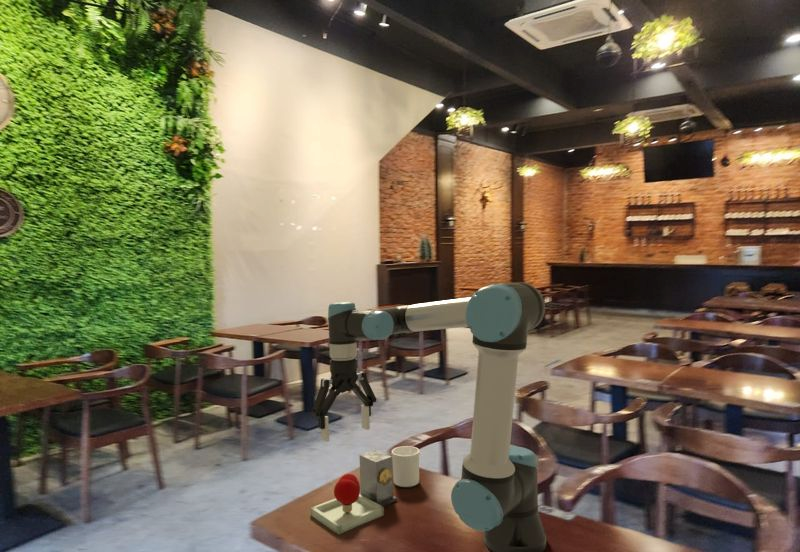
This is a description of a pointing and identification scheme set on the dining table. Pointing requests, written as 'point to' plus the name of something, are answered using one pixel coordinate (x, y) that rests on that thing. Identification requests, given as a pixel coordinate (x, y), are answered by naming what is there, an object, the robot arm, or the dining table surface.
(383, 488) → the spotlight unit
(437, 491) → the dining table surface
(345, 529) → the tray
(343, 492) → the red rounded piece
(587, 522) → the dining table surface
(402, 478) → the mug
